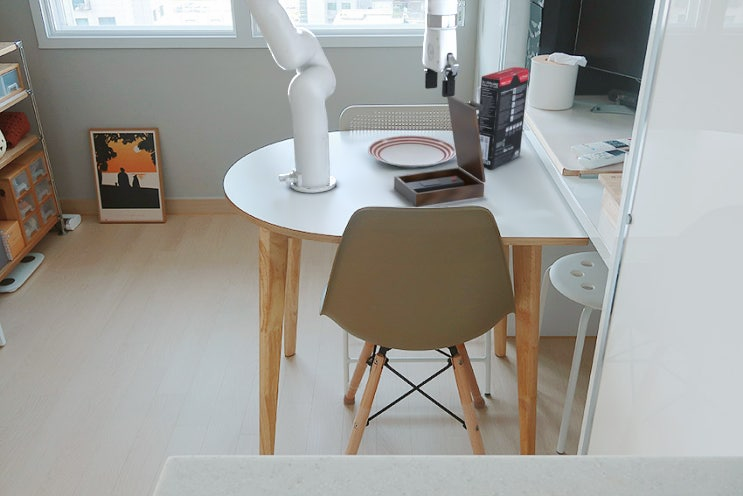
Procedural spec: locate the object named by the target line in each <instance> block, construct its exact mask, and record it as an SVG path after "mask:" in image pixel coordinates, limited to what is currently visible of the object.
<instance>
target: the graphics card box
mask: <svg viewBox="0 0 743 496" xmlns="http://www.w3.org/2000/svg"><path fill="white" fill-rule="evenodd" d="M529 72H530V69H529V68H526V67H519V66H512V67H508V68H505V69H502V70H499V71H496V72H492V73H489V74H485V75H482V76H481V81H480V86H481V92H480V104H481V105H483V110H482V111H479V116H478V127H479V135H480V143H481V150H482V158H483V165H484V169H488V170H494V169H495V168H498V167H501V166H502V165H505V164H507V163H509V162H511V161H514V160H515V159H517V158H520V156H521V155H520V154H521V148H522V147H521V146H522V139H523V138H522V137H523V128H524V120H525V111H526V103H527V102H526V101H527V91H528V82H529Z"/></svg>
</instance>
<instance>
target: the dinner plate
mask: <svg viewBox="0 0 743 496" xmlns="http://www.w3.org/2000/svg"><path fill="white" fill-rule="evenodd" d="M367 153H368V155H369V156H371V157H372V158H373V159H375V160H377V161H379V162H382V163H385V164H387V165H391V166H395V167H398V168H407V169H417V168H418V169H421V168H422V169H423V168H428V167H432V166H435V165H439V164H442V163H446V162H448V161H450V160H453V158H454V157H456V151H455V145H454V144H453V143H451V142H449V141H447V140H444V139H440V138H436V137H432V136H427V135H426V136H425V135H416V134H415V135H412V134H411V135H409V134H408V135H407V134H405V135H395V136H387V137H384V138H381V139H378V140H375V141H374V142H372V143H370V144H369V145H368V147H367Z"/></svg>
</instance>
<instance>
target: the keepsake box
mask: <svg viewBox="0 0 743 496" xmlns="http://www.w3.org/2000/svg"><path fill="white" fill-rule="evenodd" d="M452 176H457V177H458V178H460V179H461V180H463V181H464V186H461V187H454V188H448V189H441V190H434V191H428V192H421V193H417V192H416V191H415V190H413V189H412V188H411V187H410V186H408V185H407V184H406V183H410V182H417V181H424V180H431V179H438V178H445V177H452ZM393 189H394V190H395V191H396V192H398V194H399V195H401V196H402V197H403V198H405V199H406V200H407V201H408V202H409V203H410V204H411V205H412V206H414V207H415V208H421V207H427V206H433V205H440V204H445V203H447V204H448V203H452V202H458V201H459V202H460V201H464V200H472V199H478V198H483V197H484V194H485V183H483V182H481V181H480V180H478V179H477V178H475V177H474V176H472V175H471V174H469V173H468V172H466V171H465V170H463V169H462V168H460V167H459V166H457V167H451V168H443V169H437V170H429V171H422V172H421V171H420V172H415V173H408V174H401V175H394V177H393Z"/></svg>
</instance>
